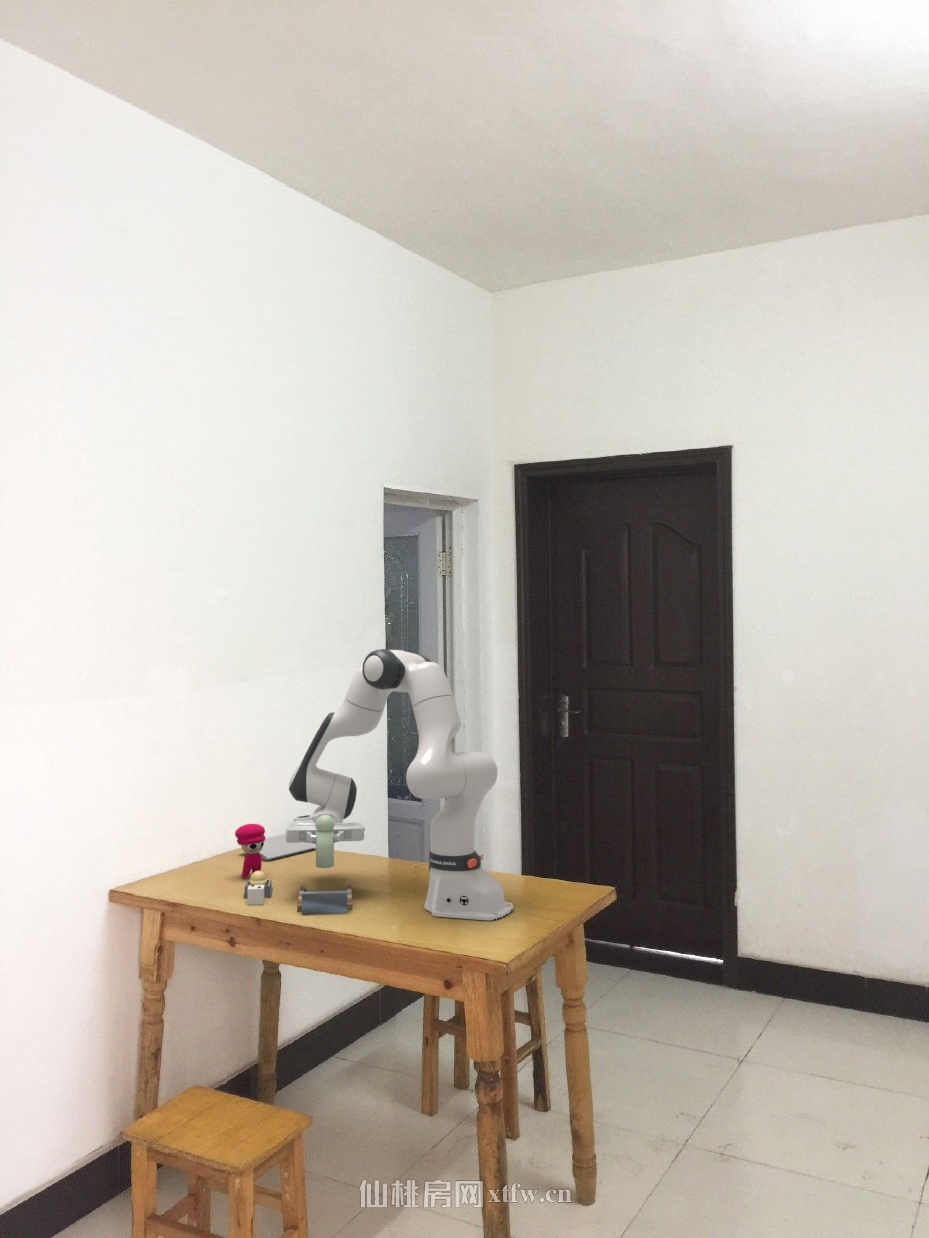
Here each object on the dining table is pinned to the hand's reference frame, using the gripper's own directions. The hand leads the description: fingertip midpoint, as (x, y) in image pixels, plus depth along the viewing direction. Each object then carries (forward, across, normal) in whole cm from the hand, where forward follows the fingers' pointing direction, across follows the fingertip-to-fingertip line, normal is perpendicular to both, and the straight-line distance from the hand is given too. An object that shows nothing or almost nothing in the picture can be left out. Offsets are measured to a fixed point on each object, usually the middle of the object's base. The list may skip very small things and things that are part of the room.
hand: (324, 839), depth 268 cm
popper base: (-12, +18, -17) cm, 27 cm away
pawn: (-1, 0, -7) cm, 7 cm away
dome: (-12, +18, -15) cm, 26 cm away
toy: (-30, +21, -17) cm, 40 cm away
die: (-4, +18, -17) cm, 25 cm away
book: (-60, +16, -17) cm, 64 cm away
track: (-4, 0, -17) cm, 17 cm away
